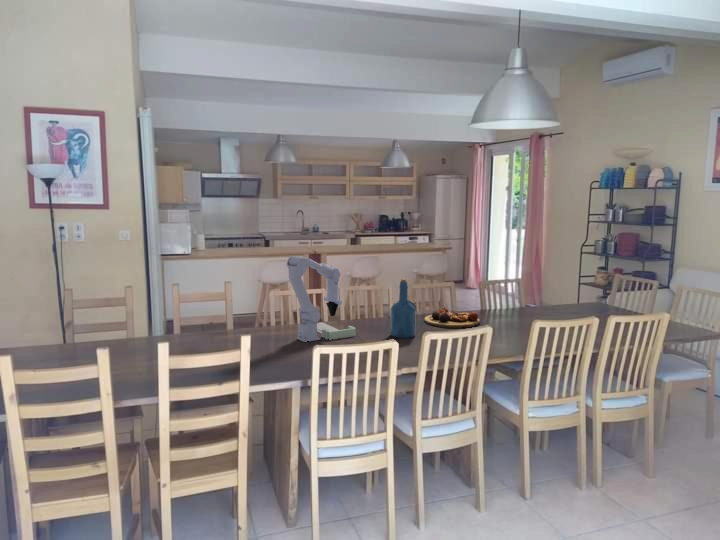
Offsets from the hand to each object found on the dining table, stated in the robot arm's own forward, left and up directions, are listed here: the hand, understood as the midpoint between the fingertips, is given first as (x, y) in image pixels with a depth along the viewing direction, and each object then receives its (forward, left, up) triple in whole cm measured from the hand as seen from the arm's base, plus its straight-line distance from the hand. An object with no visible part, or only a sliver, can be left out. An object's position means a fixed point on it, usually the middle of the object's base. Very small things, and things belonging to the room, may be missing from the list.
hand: (332, 315), depth 285 cm
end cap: (-1, -8, -9) cm, 12 cm away
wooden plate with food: (+71, -16, -10) cm, 74 cm away
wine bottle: (+28, -25, -10) cm, 39 cm away
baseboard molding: (-1, +6, -10) cm, 12 cm away
